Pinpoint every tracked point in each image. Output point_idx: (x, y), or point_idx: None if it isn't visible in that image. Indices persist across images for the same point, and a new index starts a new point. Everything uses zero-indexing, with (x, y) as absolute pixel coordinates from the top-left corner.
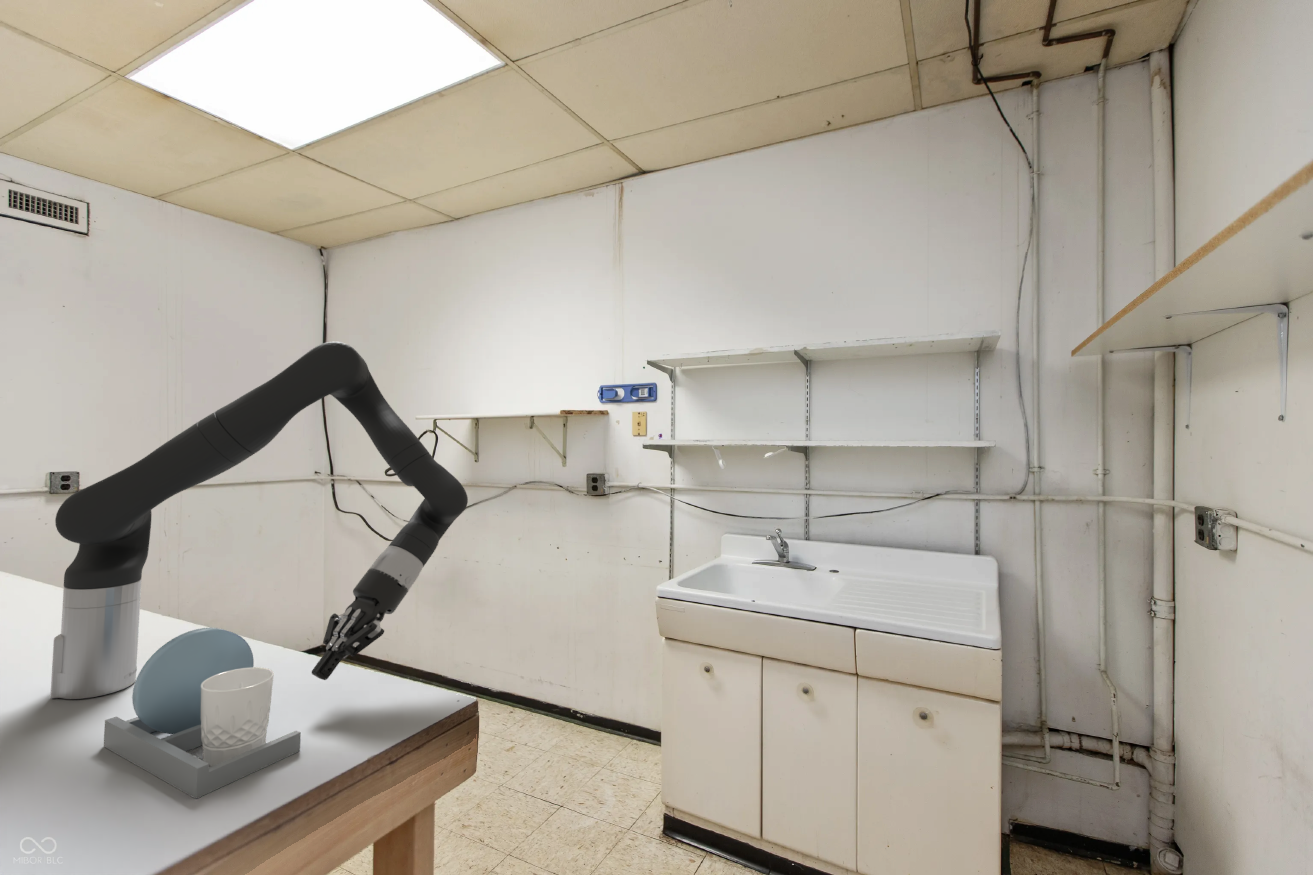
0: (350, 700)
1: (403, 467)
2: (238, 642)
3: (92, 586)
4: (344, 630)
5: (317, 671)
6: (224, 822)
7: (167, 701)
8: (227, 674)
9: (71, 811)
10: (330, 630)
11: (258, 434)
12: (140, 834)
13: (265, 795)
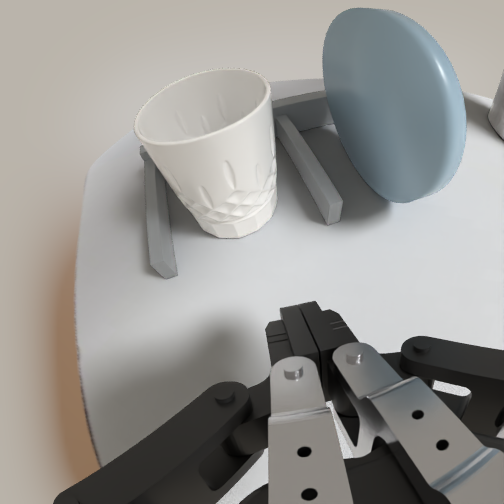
0: None
1: None
2: (427, 90)
3: None
4: (306, 434)
5: (280, 310)
6: (97, 193)
7: (340, 94)
8: (265, 89)
9: None
10: (473, 367)
11: None
12: (139, 145)
13: (102, 225)
